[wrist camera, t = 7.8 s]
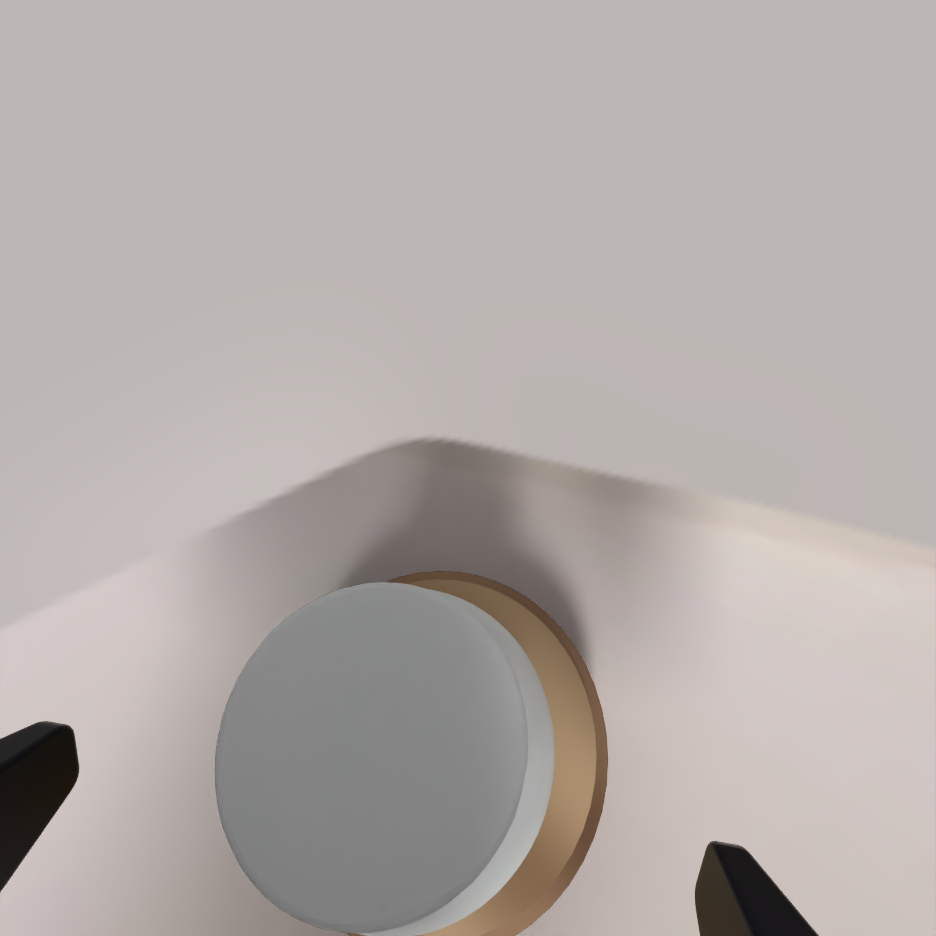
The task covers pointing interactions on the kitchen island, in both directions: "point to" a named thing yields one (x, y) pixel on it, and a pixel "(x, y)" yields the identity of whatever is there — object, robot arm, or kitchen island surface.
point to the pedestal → (575, 757)
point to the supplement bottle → (384, 761)
